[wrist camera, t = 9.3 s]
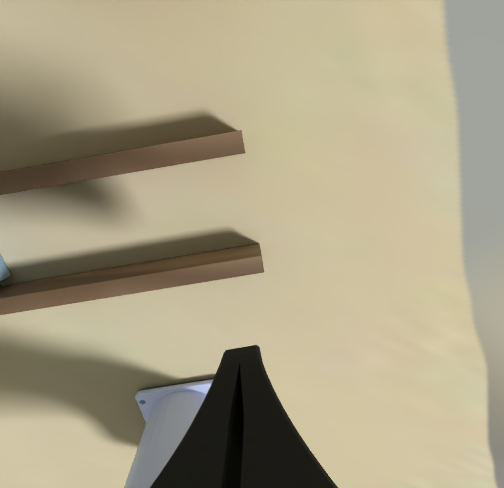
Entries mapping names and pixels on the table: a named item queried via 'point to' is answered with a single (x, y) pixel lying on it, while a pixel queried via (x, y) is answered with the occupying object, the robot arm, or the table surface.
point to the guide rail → (132, 275)
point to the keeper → (3, 270)
